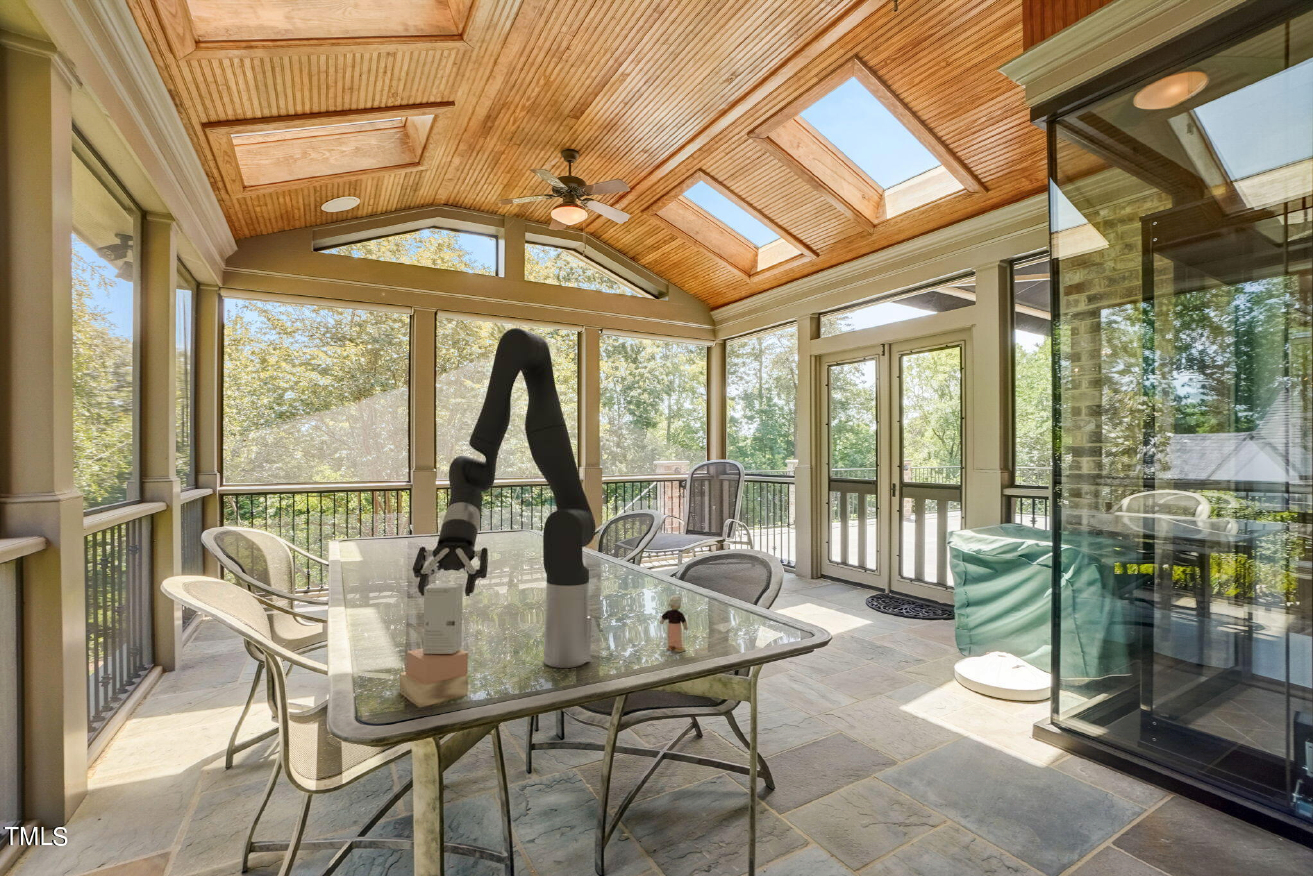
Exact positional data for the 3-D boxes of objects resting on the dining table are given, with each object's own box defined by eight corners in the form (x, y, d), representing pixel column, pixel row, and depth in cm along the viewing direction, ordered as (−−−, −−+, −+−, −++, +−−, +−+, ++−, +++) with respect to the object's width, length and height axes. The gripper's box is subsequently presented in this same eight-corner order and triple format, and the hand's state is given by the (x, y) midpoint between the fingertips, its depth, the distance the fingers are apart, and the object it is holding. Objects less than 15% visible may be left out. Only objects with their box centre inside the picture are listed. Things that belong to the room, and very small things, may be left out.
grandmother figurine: (691, 649, 144) (693, 595, 144) (685, 654, 140) (687, 598, 141) (662, 644, 147) (663, 591, 147) (655, 648, 143) (656, 594, 144)
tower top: (446, 663, 119) (447, 643, 119) (467, 674, 113) (468, 652, 113) (405, 673, 113) (406, 651, 113) (425, 685, 107) (426, 662, 107)
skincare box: (422, 655, 111) (421, 587, 112) (431, 647, 116) (431, 583, 116) (455, 654, 111) (455, 586, 112) (463, 647, 116) (463, 582, 116)
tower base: (445, 683, 119) (446, 662, 119) (467, 697, 113) (468, 675, 113) (399, 694, 113) (400, 673, 113) (419, 710, 106) (420, 686, 106)
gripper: (422, 516, 128) (403, 582, 116) (492, 518, 130) (480, 583, 118) (428, 539, 133) (410, 604, 121) (495, 540, 135) (484, 604, 123)
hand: (445, 593), depth 120 cm, fingers open, 8 cm apart
